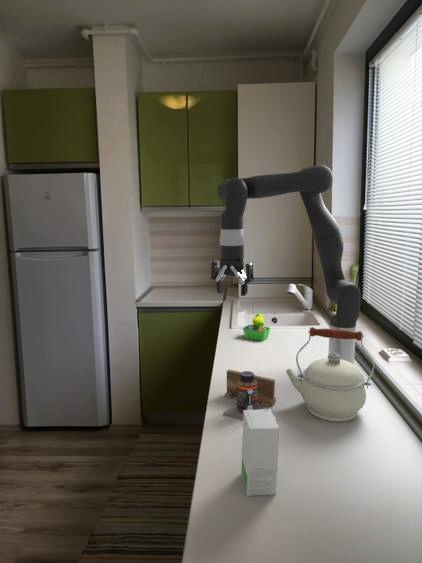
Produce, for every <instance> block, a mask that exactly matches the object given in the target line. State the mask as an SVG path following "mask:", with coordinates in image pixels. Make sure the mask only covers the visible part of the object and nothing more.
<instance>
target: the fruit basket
mask: <svg viewBox="0 0 422 563" xmlns="http://www.w3.org/2000/svg"><path fill="white" fill-rule="evenodd" d="M264 319H265V318H264V315H263V314H262V313H260V312H259V313H258V312H257V314H255V316H254V318H253V319H252V324H248V325H245V326H243V327H242V331H243V334H244V338H245V339H246V340H251V341H252V340H253V341H260V342H264V341H267V339H268V337H269V334H270V331H271V327H269V326H264V324H265V320H264Z"/></svg>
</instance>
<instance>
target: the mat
mask: <svg viewBox="0 0 422 563" xmlns="http://www.w3.org/2000/svg"><path fill="white" fill-rule="evenodd" d="M260 409H270V407H265V406H262V404H261V405H260V404H259V403H257V410H260ZM222 415H223V416H227V417H231V418H234V419H237V420H240V421H243V413H241V412H239V411H238V410H237V401H236V402H235V403H233V404H232V405H231V406H229V407H228V408H227V409H226V410H224V411H223V412H222Z"/></svg>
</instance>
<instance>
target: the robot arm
mask: <svg viewBox="0 0 422 563" xmlns="http://www.w3.org/2000/svg"><path fill="white" fill-rule="evenodd" d="M333 183H334V174H333V172H332V170H331V168H329V167H327V166H326V165H323V164H322V165H321V164H317V165H312V166H308V167H304V168H301V170H300V171H295V172H294V171H293V172H287V173H286V172H283V173H271V174H270V173H269V174H263V175H254V176H249V177H244V178H243V177H241V178H239V177H234V178H228V179H224V180H222V181H221V182H220V183H219V184H218V186H217V189H216V191H217V192H216V193H217V196H218V198H220V200H222V201H224V202H225V209H224V210H223V211H222V212H221V214H220V234H219V257H220V258H219V259H220V261H219V260H213V261H211V270H210V272H211V273H210V279H211V280H214V281H215V282H216V291H217V294H223V293H224V281H223V280H224V278H225V277H226V276H227V277H228V276H232V277H236V278H237V279H238V280H239V282H240V283H241V284H240V296H241V297H245V296H246V295H248V290H249V288H248V284H249V283H252V282H254V265H253V262H249V263H245V262H244V258H245V236H244V235H245V234H244V233H245V232H244V213H245V210H246V205H247V201H248V199H255V200H257V199H263V198H270V197H276V196H281V195H286V194H290V193H299V194H300V198H301V200H302V203H303V205H304V208H305V210H306V214H307V217H308V220H309V224H310V227H311V231H312V235H313V241H314V243H315V247H316V250H317V255H318V257H319V262H320V265H321V269H322V272H323V277H324V285H325V290H326V294H327V295H326V296H327V298H328V300H329V301H330V302H331V303H332V304H334V305H336V312H335V314H332V315H331V316H330V318H329V328H328V329H334V330H335V329H336V330H346V331H351V332H357V322H358V319H359V316H360V311H361V299H362V294H361V290H360V287H358V285H357V284H355V283H353V282H349V281H347V280H346V278H345V275H344V271H343V268H342V261H343V259H342V258H343V254H344V240H343V237H342V233H341V228H340V226H339V224H338V222H337V221H336V219H335V218H334V217H333V214H331V213H330V211H329V210H328V208H327V207H326V206H325V203H324V201H323V196H322V193H325V192H327V191H328V190H329V189H330V188H331V187H332V186H333ZM219 268H220V269H221V270H220V271H219ZM243 269H244V270H243ZM244 271H245V272H244ZM355 348H356V339H340V338H339V339H337V338H328V353H327V354H328V355H327V357H328V356H329V355H330V354H331V353H334V352H335V353H337V354H339V355H340V357H341V358H342V360H345V361H348V362H350V363H352V364H354V365H355V353H356V352H355V351H356V349H355Z"/></svg>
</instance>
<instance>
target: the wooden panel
mask: <svg viewBox="0 0 422 563" xmlns="http://www.w3.org/2000/svg"><path fill="white" fill-rule="evenodd" d="M241 372H242V371H238V370H233V369H227V370H226V392H225V393H224V398H226V399H232V398H233V397H234V398H237V381H238V380H239V379H240V374H241ZM254 379H255V380H256V381H257V404H261V406H265V407H269V408H271V407H273V406H274V405H275V403H276V401H277V397H275V393H276V392H275V391H276V390H275V388H276V387H275V385H276V380H275V379H274V378H268V377H264V376H260V375H255V374H254Z"/></svg>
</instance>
